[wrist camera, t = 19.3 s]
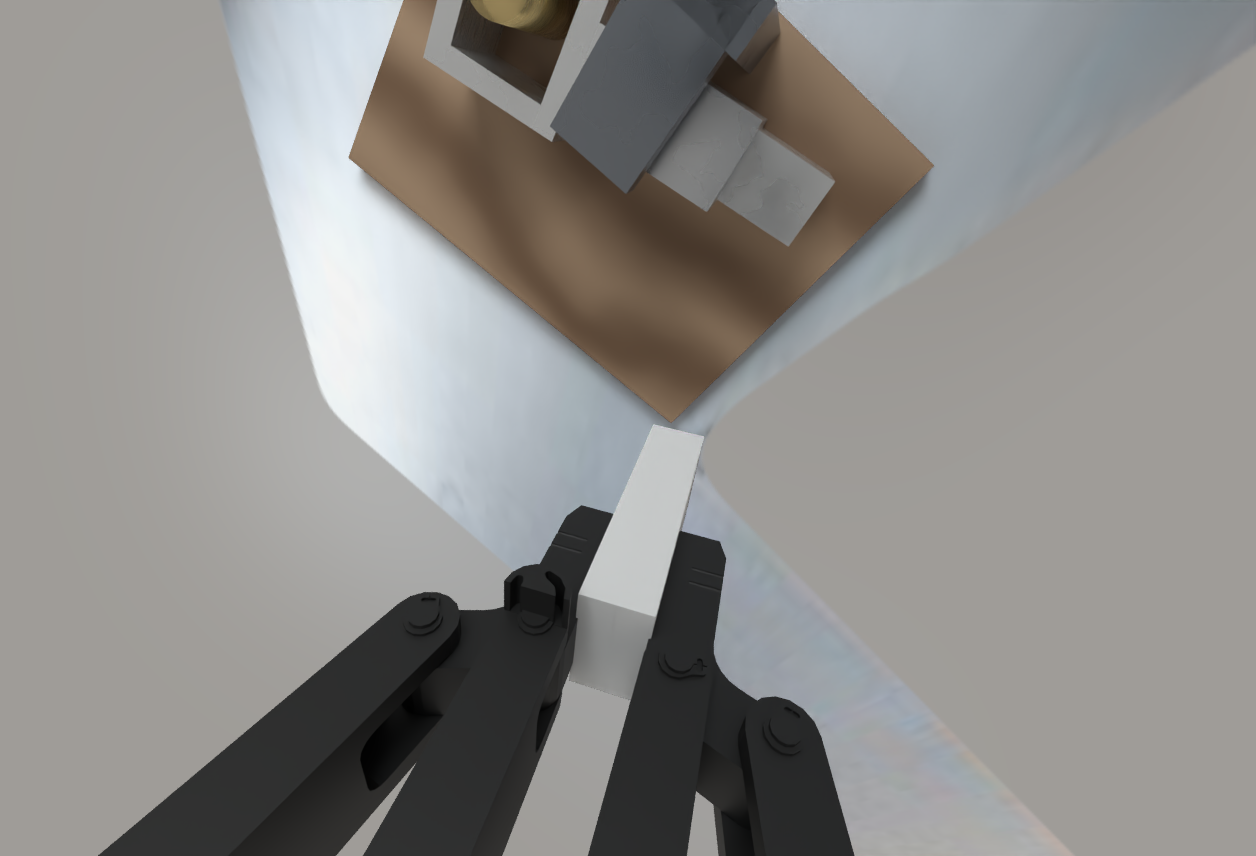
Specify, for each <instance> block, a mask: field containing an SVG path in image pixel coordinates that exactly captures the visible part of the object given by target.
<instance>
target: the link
mask: <svg viewBox="0 0 1256 856" xmlns="http://www.w3.org/2000/svg"><path fill="white" fill-rule="evenodd" d="M619 1H620V0H580V2H579V4H578V7H577V10H576V12H575V15H574V18H573V20H572V23H571V26H570V28H569V31H568V34H567V36H566V39H565V42H564V44H563V47H562V50H561V52H560V55H559V58H558V61H557V63H556V66H555V69H554V71H553V74H552V77H551V79H550V82H549V85H548V87H547V88H545V87H544V86H542V85H541V84H539V83H538V82H536V81H535V80H533V79H532V78H530V77H529V76H527V75H526V74H524V73H523V72H521V71H520V70H518V69H517V68H515V67H514V66H512V65H511V64H509V63H508V62H506V61H505V60H503V59H502V58H500V57H499V56H497V55H496V54H495V53H496V50H497V46H498V43H499V40H500V37H501V34H502V30H503V27H504V25H502V24H499V23H495V22H492V21H490V20H488V19H486V18H484V17H483V16H482V15H480V14H479V13H478V11H477V10H476V9H475V8H474V6H473V5H472V3H471V1H470V0H437V3H436V7H435V12H434V16H433V20H432V24H431V28H430V32H429V36H428V40H427V44H426V48H425V52H424V56H423V58H425V59H426V60H428V61H430V62H431V63H433V64H434V65H436V66H437V67H439V68H440V69H442V70H443V71H445V72H446V73H448V74H449V75H451V76H452V77H454V78H455V79H457V80H458V81H460V82H461V83H463V84H464V85H466V86H468V87H469V88H471V89H472V90H474V91H475V92H477V93H478V94H480V95H481V96H483V97H484V98H486V99H487V100H489V101H490V102H492V103H493V104H495V105H496V106H498V107H499V108H501V109H502V110H504V111H506V112H507V113H509V114H510V115H512V116H513V117H515V118H516V119H518V120H519V121H521V122H522V123H524V124H525V125H527V126H528V127H530V128H531V129H533V130H534V131H536V132H537V133H539V134H540V135H542V136H544V137H545V138H547V139H548V140H550V141H551V142H556V141H564V139H563V138H562V137H561V136H560V135H559V134H558V133H556V132H555V131H554V130H553V129H552V128H551V127H550V125H551V123H552V121H553V119H554V118H555V116H556V114H557V112H558V110H559V109H560V107H561V105H562V103H563V101H564V100H565V98H566V96H567V94H568V92H569V91H570V89H571V87H572V85H573V83H574V82H575V80H576V78H577V76H578V75H579V73H580V71H581V69H582V67H583V66H584V64H585V62H586V60H587V58H588V57H589V55H590V53H591V51H592V49H593V48H594V46H595V44H596V42H597V40H598V39H599V37H600V35H601V33H602V32H603V30H604V28H605V26H606V24H607V23H608V21H609V19H610V17H611V15H612V14H613V12H614V10H615V8H616V6H617V5H618V3H619ZM767 120H768V119H766V118H765V117H764V116H762V115H761V114H759V113H758V112H756V111H755V110H753V109H752V108H750V107H749V106H747V105H746V104H744V103H743V102H741V101H740V100H738V99H737V98H736V97H734V96H733V95H731V94H730V93H728V92H727V91H725V90H724V89H722V88H721V87H719V86H718V85H716V84H715V83H713V82H712V81H709V83H708V84H707V85H706V87H705V88H704V90H703V91H702V93H701V94H700V95H699V97H698V98H697V100H696V101H695V103H694V104H693V105H692V107H691V108H690V110H689V111H688V113H687V114H686V115H685V117H684V118H683V120H682V121H681V123H680V124H679V125H678V127H677V128H676V130H675V131H674V133H673V134H672V136H671V137H670V138H669V140H668V141H667V143H666V144H665V146H664V147H663V148H662V150H661V151H660V153H659V154H658V156H657V157H656V158H655V160H654V161H653V163H652V164H651V166H650V167H649V168H648V170H647V171H646V172H647V173H649V174H650V175H652V176H653V177H655V178H656V179H658V180H659V181H661V182H662V183H664V184H665V185H667V186H668V187H670V188H671V189H673V190H674V191H676V192H677V193H679V194H680V195H682V196H683V197H685V198H686V199H688V200H689V201H691V202H692V203H694V204H695V205H697V206H698V207H700V208H701V209H703V210H704V211H706V212H708V210H709V209H710V208H711V207H712V206H713V205H714V203H715V202H716V201H717V200H719V201H720V202H722V203H723V204H725V205H726V206H728V207H729V208H731V209H732V210H734V211H735V212H737V213H738V214H740V215H741V216H743V217H744V218H746V219H747V220H749V221H750V222H752V223H753V224H755V225H756V226H758V227H759V228H761V229H762V230H764V231H765V232H767V233H768V234H770V235H771V236H773V237H774V238H776V239H777V240H779V241H780V242H782V243H783V244H785V245H786V246H788V247H789V245H790V244H791V242H792V241H793V240H794V238H795V237H796V235H797V234H798V233H799V231H800V230H801V229H802V227H803V226H804V224H805V223H806V222H807V220H808V219H809V217H810V216H811V215H812V213H813V212H814V211H815V209H816V208H817V206H818V205H819V204H820V202H821V201H822V200H823V198H824V197H825V195H826V194H827V193H828V191H829V190H830V188H831V187H832V186H833V184H834V183H835V181H834V179H833V177H832V176H831V174H830V173H829V172H828V171H826V170H825V169H823V168H822V167H820V166H819V165H818V164H816V163H815V162H813V161H812V160H810V159H809V158H807V157H806V156H804V155H803V154H801V153H800V152H798V151H797V150H795V149H794V148H792V147H791V146H789V145H788V144H786V143H785V142H784V141H782V140H781V139H779V138H778V137H776V136H775V135H773V134H772V133H770V132H769V131H767V130H766V129H764V128H763V126H764V125H765V123H766V121H767Z"/></svg>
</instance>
